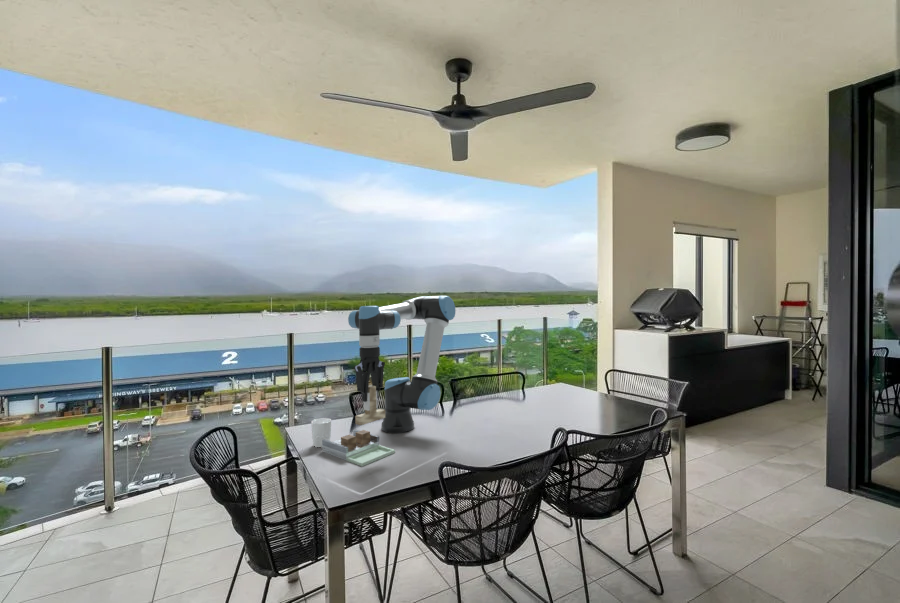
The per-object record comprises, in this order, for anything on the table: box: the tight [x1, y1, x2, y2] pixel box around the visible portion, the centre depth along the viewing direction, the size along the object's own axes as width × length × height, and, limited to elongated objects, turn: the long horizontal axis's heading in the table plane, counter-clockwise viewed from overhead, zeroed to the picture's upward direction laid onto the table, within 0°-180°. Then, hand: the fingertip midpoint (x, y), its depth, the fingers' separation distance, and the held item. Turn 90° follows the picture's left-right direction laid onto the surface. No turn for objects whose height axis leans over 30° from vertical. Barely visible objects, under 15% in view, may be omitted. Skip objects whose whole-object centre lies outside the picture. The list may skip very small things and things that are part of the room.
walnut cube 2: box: [356, 429, 371, 445], centre depth 156 cm, size 4×4×4 cm
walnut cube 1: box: [340, 434, 356, 450], centre depth 151 cm, size 4×4×4 cm
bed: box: [321, 429, 380, 461], centre depth 155 cm, size 16×15×5 cm
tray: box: [345, 444, 396, 467], centre depth 148 cm, size 16×9×2 cm, turn 142°
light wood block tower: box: [354, 384, 385, 426], centre depth 148 cm, size 12×3×13 cm, turn 142°
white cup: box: [310, 417, 332, 448], centre depth 162 cm, size 8×8×10 cm
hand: (370, 408), depth 148 cm, fingers closed on light wood block tower, 3 cm apart
